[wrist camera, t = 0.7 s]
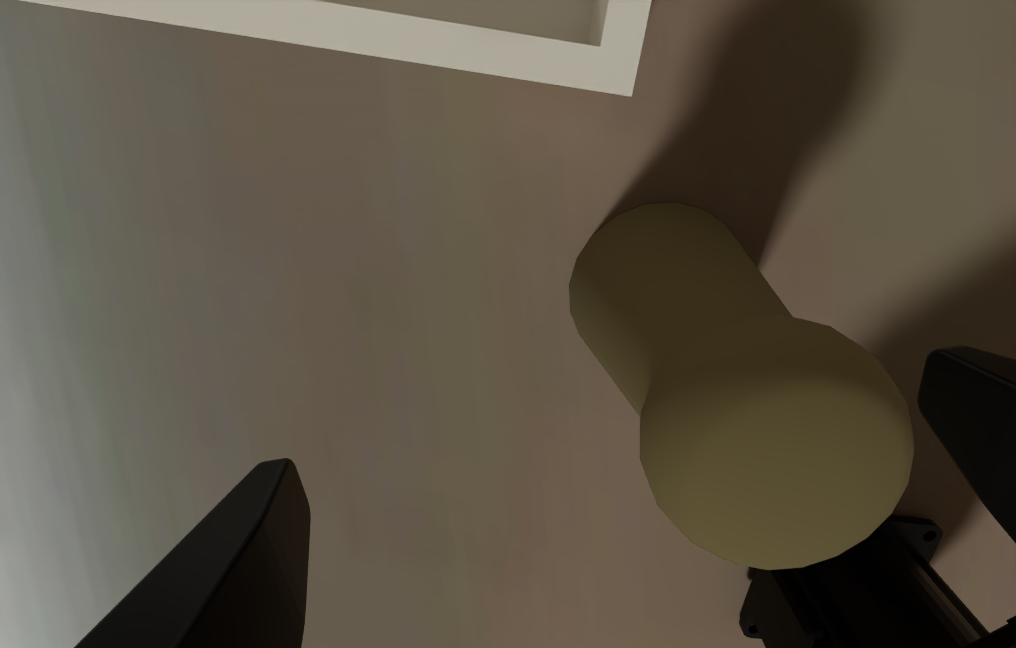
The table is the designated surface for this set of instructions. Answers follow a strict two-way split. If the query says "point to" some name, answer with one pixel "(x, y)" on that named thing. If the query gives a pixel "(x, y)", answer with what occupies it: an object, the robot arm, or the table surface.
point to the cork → (739, 393)
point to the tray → (433, 32)
